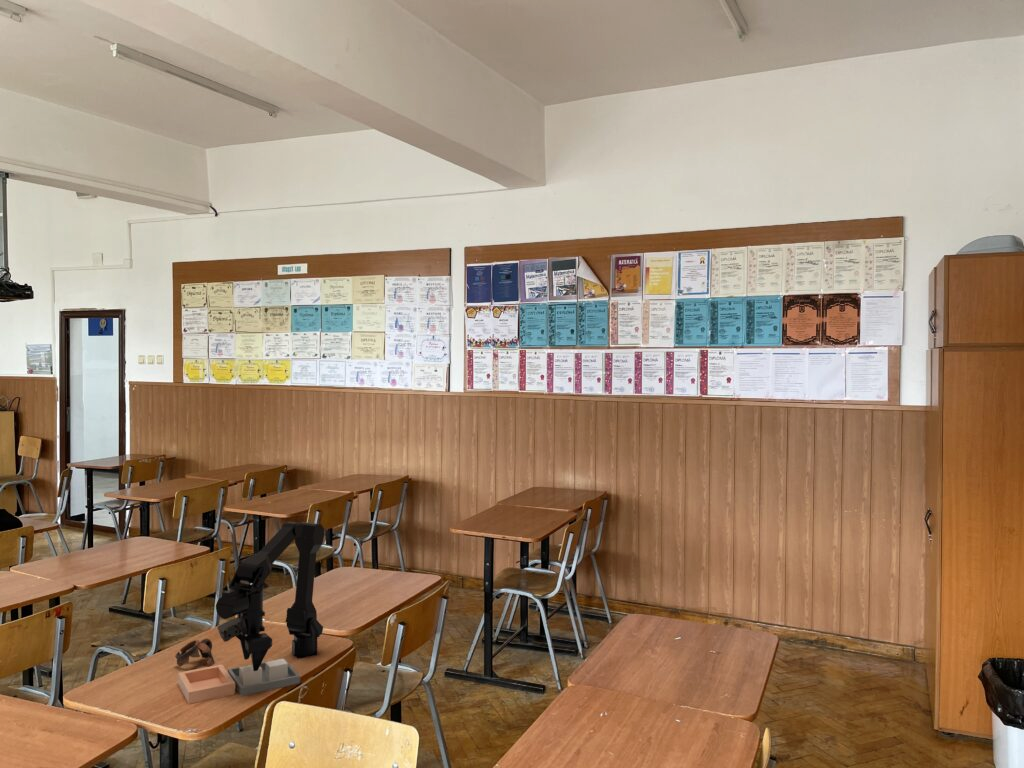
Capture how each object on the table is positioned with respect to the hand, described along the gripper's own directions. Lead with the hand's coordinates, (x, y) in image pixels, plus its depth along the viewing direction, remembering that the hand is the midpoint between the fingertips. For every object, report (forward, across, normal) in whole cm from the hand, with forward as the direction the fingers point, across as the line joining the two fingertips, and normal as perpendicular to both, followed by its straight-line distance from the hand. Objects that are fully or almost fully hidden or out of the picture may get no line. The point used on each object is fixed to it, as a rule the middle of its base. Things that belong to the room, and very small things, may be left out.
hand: (251, 664), depth 205 cm
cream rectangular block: (+5, 0, 0) cm, 5 cm away
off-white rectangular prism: (+5, 0, +7) cm, 8 cm away
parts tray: (+5, 0, +3) cm, 6 cm away
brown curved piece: (+6, -21, -9) cm, 24 cm away
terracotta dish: (+5, -2, -11) cm, 12 cm away
